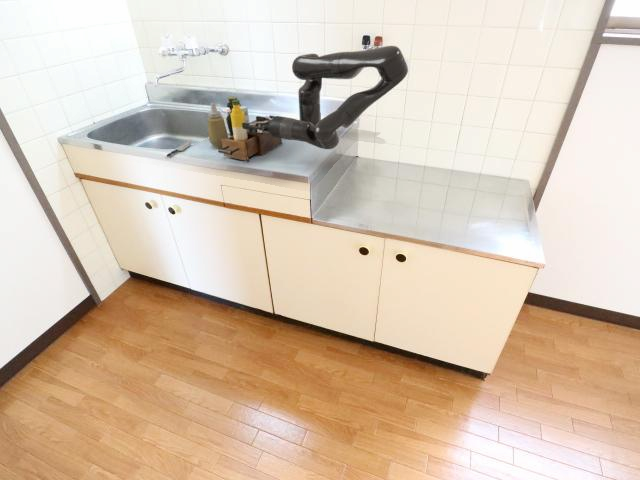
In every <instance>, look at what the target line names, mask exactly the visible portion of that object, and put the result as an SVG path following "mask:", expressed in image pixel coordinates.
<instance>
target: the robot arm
mask: <svg viewBox="0 0 640 480" xmlns="http://www.w3.org/2000/svg"><path fill="white" fill-rule="evenodd" d="M365 68H366V69H367V68H375V69H376V70H377V72H378V75H379V77H380V80H379V81H378V82H377V84H376V85H374V86H373V87H371V88H369V89H365V90H362V91H358V92H356V93H353V94H351V95H350V96H348V97H347V98H346V99H345V100H344V101H343V102H342V103H341V104H340V105H339V106H338V107H337V108H336V110H334V111H332V112H331V113H329V114H328V115H326V116H325V117H323V118H322V112H321V91H322V88H323V87H322V86H323V79H329V80H351V79H352V80H353V79H355V78H356V77H357V76H358V75H360V73H361V72H362V71H363V70H364V69H365ZM291 70H292V73H293V75H294V76H295V77H296V79H299V80H301V81H305V82H304V83H303V85H302V86H300V87H299V89H298V91H297V93H298V94H297V95H298V112H299V113H298V115H299V119H296V118H292V117H287V116H281V115H268V116H260V115H257V116H255V120H256V121H257V122H256V123H254V124H250V122H249V123H245V122H243V123H242V128H243V129H247V130H248V131H249V133H252V134H259V135H263V132H270V133H271V135H272V136H273V137H276V138H281V139H282V140H287V141H297V142H302V143H307V144H310V145H311V146H313V147H316V148H319V149H323V150H332V149H335V148H336V147H337V146H338V145H339V143H340V135H339V134H338V131H337V130H339V128H341V127H342V128H344V129H347V128H349V127H350V126H351V125H353V123H355V121H357V119H359V117H360V116H362V114H363V113H364V112H365V111H366V110H367V109H369V107H371V106H372V105H373V104H374V103H376V102H377V101H378V100H380V99H381V98H382V97H383V96H385V95H387V94H388V93H389V92H390V91H391V90H393V89H395V88H396V87H397V86H398V85H399V84H400V83H401V82H402V81H403V80H405V78H406V77H407V75H408V74H409V67H408V63H407V61H406V60H405V57H404V54H403V52H402V50H401V49H400V47H398V46H397V45H386V46H385V45H384V46H379V47H375V48H371V49H365V50H364V49H363V50H356V51H339V52H332V53H328V54H324V55H320V56H319V55H318V54H317V53H307V54H301V55H298V56H297V57H296V58H294V59H293V61H292V64H291ZM259 124H260V126H258V125H259Z"/></svg>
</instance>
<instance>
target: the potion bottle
mask: <svg viewBox="0 0 640 480" xmlns="http://www.w3.org/2000/svg"><path fill="white" fill-rule="evenodd" d="M227 99H228V102H227V104H226V108H230V110H231V113H232V109H233V104H232V100H238V97H237V96H229V97H227ZM239 105H240V106H241V105H242V104H241V103H240V104H239ZM231 113H230V114H231ZM230 114H229V115H228V116H227V118H226V121H227V125H228V129H229V133H230V134H229V137H230V136H233V128H232V121H231V115H230Z"/></svg>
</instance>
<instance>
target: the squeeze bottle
mask: <svg viewBox="0 0 640 480" xmlns="http://www.w3.org/2000/svg"><path fill="white" fill-rule="evenodd" d="M206 120H207V130H208V140H209V142H210V144H211V146H212V147H213V148H214V149H219V148H220V149H222V148H223V146H222V140H221V139H223V138H225V139H227V138H228V137H229V134H228V133H227V130H226V126H225V122H224V118H223V117H222V114H221V110H218V109H217V106H216V104H215V102H210V110H209V111H208V118H207V119H206Z"/></svg>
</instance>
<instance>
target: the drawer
mask: <svg viewBox="0 0 640 480" xmlns="http://www.w3.org/2000/svg"><path fill="white" fill-rule="evenodd" d="M247 136H248V140H247V141H245V142H240V141H235V140H234V135H233V136H230V135H229V136H228V138H227V139H225V138H223V139H221V140H222V146H223V148H217V152H218V153H220V154H223V156H224V157H228V158H232V159H237V160H241V161H245V162H247V161H249V158H250V157H252V156H254V155H256V154H255V153H257V152H259V143H258V136H256V135H250V134H247Z"/></svg>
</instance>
